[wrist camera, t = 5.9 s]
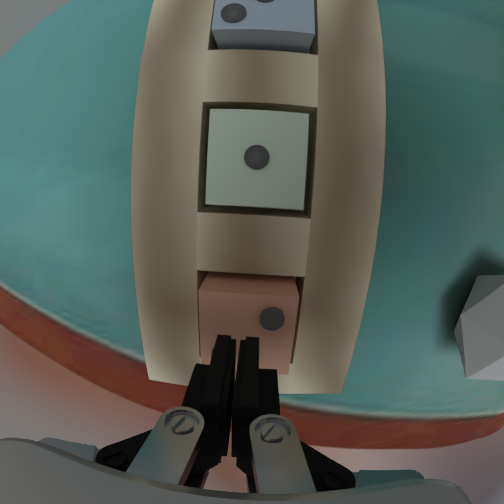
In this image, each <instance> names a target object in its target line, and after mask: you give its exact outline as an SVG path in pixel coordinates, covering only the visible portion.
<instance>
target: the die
mask: <svg viewBox="0 0 504 504" xmlns="http://www.w3.org/2000/svg"><path fill="white" fill-rule="evenodd" d="M454 334H455V337H456V341H457V345H458V348H459V352H460V356H461V360H462V364H463V368H464V373H465V377H466V379H479V380H499V381H504V275H481V276H477V278H476V280H475V283H474V285H473V288H472V290H471V292H470V295H469V297H468V299H467V302H466V304H465V306H464V308H463V310H462V312H461V315H460V317H459V320H458V322H457V325H456V327H455V329H454Z"/></svg>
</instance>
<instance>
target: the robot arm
mask: <svg viewBox="0 0 504 504" xmlns="http://www.w3.org/2000/svg"><path fill="white" fill-rule="evenodd" d="M235 366H236V339H231V335H220V334H218V335H217V338H216V342H215V346H214V350H213V354H212V357H211V361H210V365H208V364H199V363H196V364H195V366H194V369H193V372H192V375H191V378H190V381H189V384H188V387H187V390H186V394H185V397H184V400H183V403H182V406H181V407H174V408H171V409H168V410H167V411H165V412H164V413H163V414H162V415H161V417H160V418H159V420H158V421H157V423H156V425H155V426H154V428H153V429H152V430H149V431H147V432H144V433H141V434H139V435H136V436H133V437H131V438H128V439H125V440H123V441H120V442H117V443H114V444H111V445H108V446H106V447H104V448H102V449H97V448H96V446H93V445H87V444H81V443H75V442H69V441H64V440H60V439H55V438H43V439H41V440H40V441H38V442H37V441H33V440H29V439H22V438H3V439H0V504H472V502H471V501H470V499H469V498H468V496H467V495H466V493H465V492H464V491H463V490H462V489H461V488H460V487H459V486H458V485H456V484H455V483H452V482H450V481H445V480H438V479H424V477H423V476H422V475H421V474H420V473H419V472H417V471H415V470H360V471H359V472H351V471H350V470H349V469H347V468H345V467H344V466H342V465H340V464H339V463H337V462H335V461H333V460H331V459H330V458H328V457H326V456H325V455H323V454H321V453H320V452H318V451H316V450H315V449H313V448H312V447H310V446H308V445H307V444H305V443H304V442H302V441H301V440H299V437H298V434H297V431H296V428H295V426H294V424H293V423H292V422H291V421H290V420H289V419H288V418H286V417H284V416H280V404H279V389H278V374H277V369H261V368H259V337H248V336H246V340H240V347H239V355H238V363H237V371H236V379H235ZM231 419H232V457H237V463H236V466H237V467H238V468H239V469H241V470H242V471H243V472H244V473H245V474H246V484H247V491H248V493H238V492H225V491H216V490H207V489H203V488H204V485H205V482H206V479H207V477H208V474H209V469H210V468H212V467H214V466H216V465H218V463H221V456H227V452H228V444H229V435H230V427H231Z"/></svg>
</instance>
